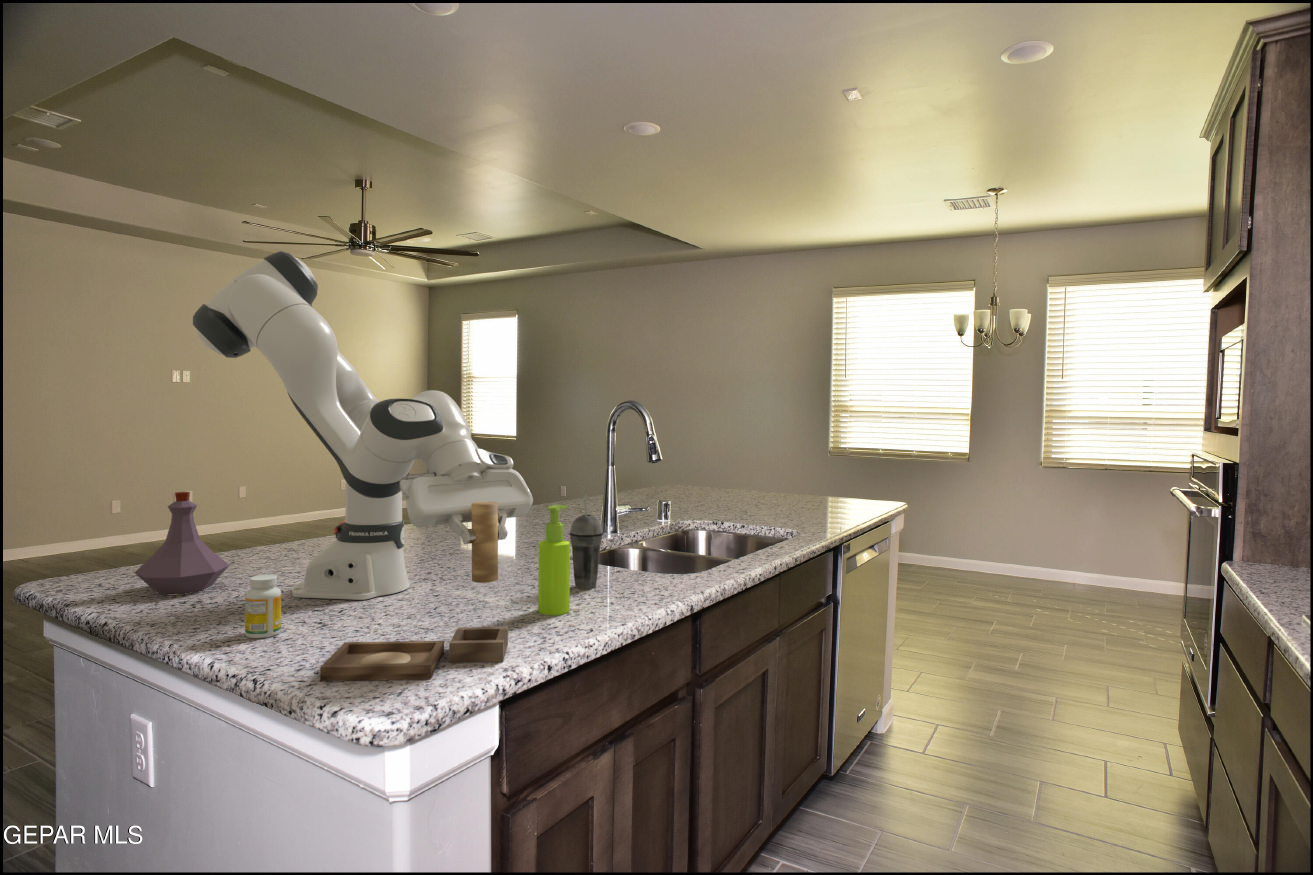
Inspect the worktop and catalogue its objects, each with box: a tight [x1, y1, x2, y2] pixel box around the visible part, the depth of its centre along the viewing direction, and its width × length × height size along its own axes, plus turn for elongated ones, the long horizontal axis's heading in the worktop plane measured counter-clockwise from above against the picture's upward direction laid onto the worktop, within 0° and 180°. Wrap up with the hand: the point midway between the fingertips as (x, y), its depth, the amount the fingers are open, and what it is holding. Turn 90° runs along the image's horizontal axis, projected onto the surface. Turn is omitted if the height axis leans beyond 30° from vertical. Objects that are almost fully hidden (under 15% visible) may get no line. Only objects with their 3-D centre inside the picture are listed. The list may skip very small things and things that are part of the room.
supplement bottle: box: [244, 574, 282, 639], centre depth 124 cm, size 5×5×10 cm
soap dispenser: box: [537, 504, 571, 616], centre depth 141 cm, size 6×7×20 cm
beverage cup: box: [568, 494, 604, 590], centre depth 159 cm, size 7×7×20 cm
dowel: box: [471, 502, 499, 584], centre depth 116 cm, size 4×4×12 cm
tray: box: [319, 640, 445, 683], centre depth 110 cm, size 15×11×2 cm
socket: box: [448, 626, 509, 664], centre depth 116 cm, size 8×8×3 cm
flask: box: [134, 491, 230, 595], centre depth 152 cm, size 16×16×20 cm
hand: (486, 539), depth 115 cm, fingers closed on dowel, 4 cm apart
